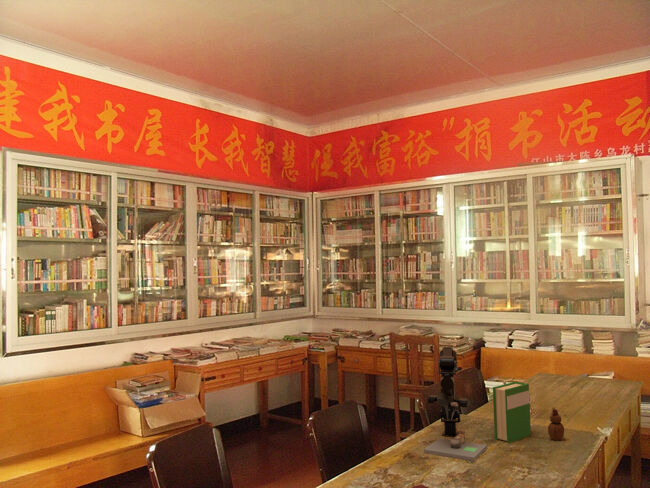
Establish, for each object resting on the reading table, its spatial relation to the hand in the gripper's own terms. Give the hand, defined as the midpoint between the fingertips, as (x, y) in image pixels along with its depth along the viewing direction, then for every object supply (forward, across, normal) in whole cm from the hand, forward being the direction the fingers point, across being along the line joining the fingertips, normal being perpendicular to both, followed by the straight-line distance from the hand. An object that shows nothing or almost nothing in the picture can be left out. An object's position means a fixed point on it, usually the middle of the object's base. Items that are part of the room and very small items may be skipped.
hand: (449, 420), depth 253 cm
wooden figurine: (+11, +40, +30) cm, 51 cm away
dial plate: (+11, +5, -6) cm, 14 cm away
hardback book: (+11, +22, +24) cm, 34 cm away
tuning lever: (+9, +5, -3) cm, 11 cm away
